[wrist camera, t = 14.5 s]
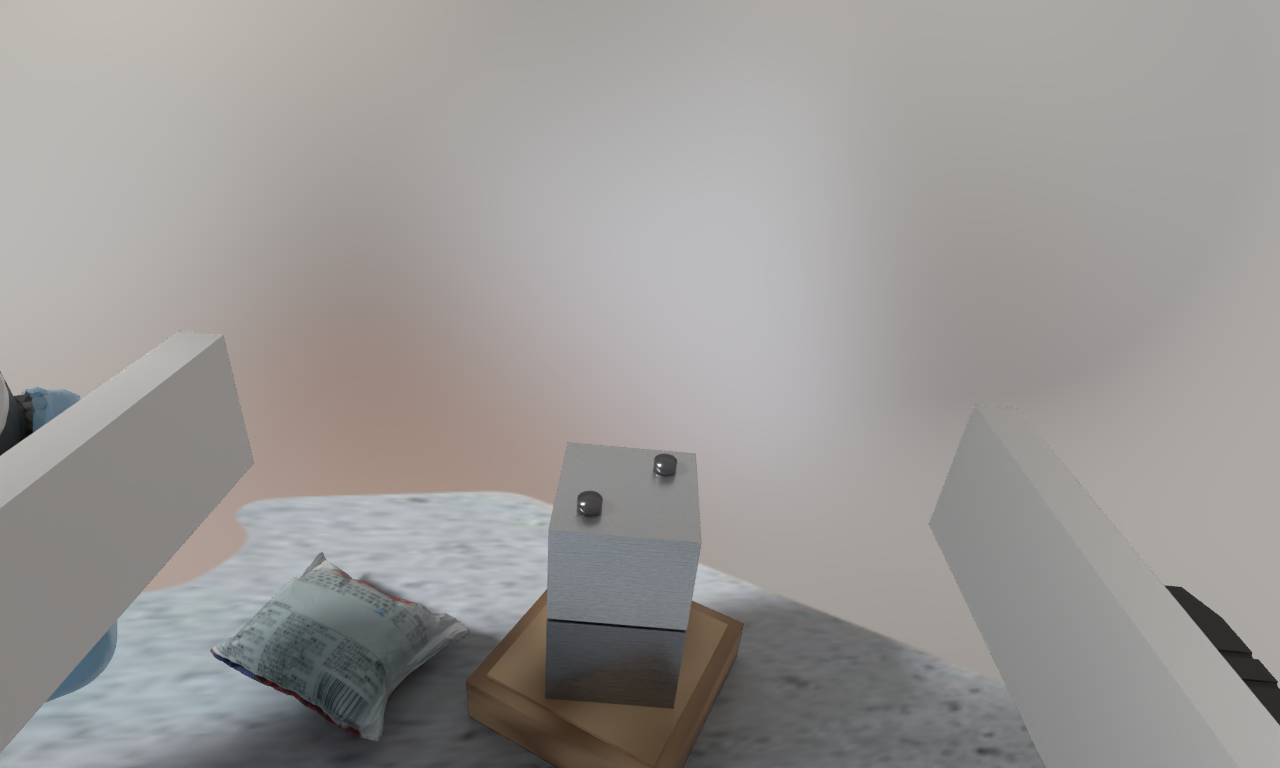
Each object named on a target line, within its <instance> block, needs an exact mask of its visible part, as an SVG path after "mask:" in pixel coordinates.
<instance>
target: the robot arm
mask: <svg viewBox="0 0 1280 768" xmlns="http://www.w3.org/2000/svg"><path fill="white" fill-rule="evenodd" d="M253 464H254V460H253V456H252V452H251V448H250V443H249V439H248V435H247V431H246V427H245V422H244V419H243V414H242V410H241V406H240V402H239V397H238V393H237V389H236V385H235V381H234V376H233V373H232V368H231V365H230V361H229V356H228V352H227V348H226V343H225V339H224V335H220V334H210V333H198V332H188V331H178V332H177V333H175V334H174V335H172V336H171V337H170V338H168V339H167V340H165V341H164V342H162V343H161V344H160V345H158V346H157V347H155V348H154V349H152V350H151V351H149V352H148V353H147V354H145V355H144V356H143V357H141V358H140V359H138V360H137V361H135V362H134V363H132V364H131V365H130V366H128V367H127V368H125V369H124V370H122V371H121V372H119V373H118V374H117V375H115V376H114V377H112V378H111V379H110V380H108V381H107V382H105V383H104V384H102V385H101V386H100V387H98V388H97V389H95V390H94V391H93V392H91V393H90V394H88V395H87V396H85V397H84V398H82V399H81V398H80V396H78V395H77V394H75V393H72V392H70V391H67V390H45V389H42V388H39V387H36V388H33V389H26V390H25V391H24V392H23V393H22V394H21V395H19V396H13V395H12V393H11V391H10V389H9V387H8V385H7V383H6V382H5V380H4V378H3V376H2V374H1V372H0V753H1V752H2V751H3V750H4V748H5V747H6V746H7V745H8V744H9V743H10V742H11V740H12V739H13V738H14V737H15V736H16V735H17V734H18V732H19V731H20V730H21V729H22V728H23V727H24V726H25V724H26V723H27V722H28V721H29V720H30V719H31V718H32V716H33V715H34V714H35V713H36V712H37V711H38V710H39V708H40V707H41V706H42V705H43V704H44V703H46V702H48V701H51V700H53V699H56V698H59V697H61V696H64V695H66V694H69V693H71V692H74V691H76V690H78V689H80V688H82V687H84V686H86V685H87V684H89V683H90V682H92V681H93V680H94V679H95V678H97V677H98V676H99V675H100V674H101V673H102V672H103V671H104V669H105V668H106V667H107V665H108V664H109V662H110V660H111V659H112V656H113V654H114V651H115V647H116V642H117V619H118V618H119V617H120V616H121V615H122V614H123V612H124V611H125V610H126V609H127V608H128V607H129V606H130V604H131V603H132V602H133V601H134V600H135V599H136V598H137V596H138V595H139V594H140V593H141V592H142V591H143V590H144V588H145V587H146V586H147V585H148V584H149V583H150V582H151V580H152V579H153V578H154V577H155V576H156V575H157V574H158V572H159V571H160V570H161V569H162V568H163V567H164V566H165V564H166V563H167V562H168V561H169V560H170V559H171V558H172V556H173V555H174V554H175V553H176V552H177V551H178V550H179V548H180V547H181V546H182V545H183V544H184V543H185V542H186V540H187V539H188V538H189V537H190V536H191V535H192V534H193V532H194V531H195V530H196V529H197V528H198V527H199V526H200V524H201V523H202V522H203V521H204V520H205V519H206V518H207V516H208V515H209V514H210V513H211V512H212V511H213V510H214V508H215V507H216V506H217V505H218V504H219V503H220V501H221V500H222V499H223V498H224V497H225V496H226V495H227V494H228V492H229V491H230V490H231V489H232V488H233V487H234V486H235V484H236V483H237V482H238V481H239V480H240V479H241V478H242V476H243V475H244V474H245V473H246V472H247V471H248V470H249V468H250V467H251V466H252V465H253ZM929 526H930V528H931V530H932V532H933V534H934V536H935V539H936V541H937V543H938V545H939V547H940V549H941V551H942V553H943V555H944V557H945V559H946V561H947V563H948V565H949V568H950V570H951V572H952V574H953V576H954V578H955V580H956V582H957V584H958V586H959V588H960V590H961V593H962V594H963V597H964V599H965V601H966V603H967V605H968V607H969V609H970V611H971V613H972V616H973V617H974V620H975V622H976V624H977V626H978V628H979V630H980V632H981V634H982V636H983V638H984V640H985V643H986V645H987V647H988V649H989V651H990V653H991V655H992V657H993V659H994V661H995V663H996V666H997V668H998V670H999V672H1000V674H1001V676H1002V678H1003V680H1004V682H1005V684H1006V686H1007V688H1008V691H1009V693H1010V695H1011V697H1012V699H1013V701H1014V703H1015V705H1016V707H1017V709H1018V711H1019V713H1020V716H1021V718H1022V720H1023V722H1024V724H1025V726H1026V728H1027V730H1028V732H1029V734H1030V736H1031V738H1032V741H1033V743H1034V745H1035V747H1036V749H1037V751H1038V753H1039V755H1040V757H1041V759H1042V761H1043V763H1044V766H1045V768H1280V689H1279V688H1278V686H1277V682H1278V681H1277V680H1276V679H1275V678H1274V677H1273V676H1272V675H1271V674H1270V672H1269V671H1268V670H1267V669H1266V668H1265V667H1264V665H1263V664H1262V663H1261V662H1260V661H1259V660H1258V659H1253V658H1252V652H1251V651H1250V649H1249V648H1248V647H1247V646H1246V645H1245V644H1244V643H1243V641H1242V640H1241V639H1240V638H1239V637H1238V636H1237V635H1236V633H1235V632H1234V631H1233V630H1232V629H1231V628H1230V626H1229V625H1228V624H1227V623H1226V622H1225V621H1224V620H1223V619H1222V618H1221V617H1220V616H1219V615H1218V614H1216V613H1215V612H1214V611H1212V610H1211V609H1210V608H1208V607H1207V606H1206V605H1204V604H1203V603H1202V602H1200V601H1199V600H1198V599H1196V598H1195V597H1194V596H1193V595H1191V594H1190V593H1189V592H1187V591H1186V590H1185V589H1183V588H1182V587H1175V586H1164V585H1163V584H1162V582H1161V581H1160V580H1159V579H1158V577H1157V576H1156V575H1155V574H1154V572H1153V571H1152V570H1151V569H1150V568H1149V567H1148V565H1147V564H1146V563H1145V562H1144V560H1143V559H1142V558H1141V557H1140V556H1139V554H1138V553H1137V552H1136V551H1135V549H1134V548H1133V547H1132V546H1131V545H1130V543H1129V542H1128V541H1127V540H1126V539H1125V537H1124V536H1123V535H1122V534H1121V532H1120V531H1119V530H1118V529H1117V528H1116V526H1115V525H1114V524H1113V523H1112V522H1111V520H1110V519H1109V518H1108V517H1107V516H1106V514H1105V513H1104V512H1103V511H1102V509H1101V508H1100V507H1099V506H1098V505H1097V504H1096V502H1095V501H1094V500H1093V499H1092V497H1091V496H1090V495H1089V494H1088V493H1087V491H1086V490H1085V489H1084V488H1083V487H1082V485H1081V484H1080V483H1079V482H1078V481H1077V479H1076V478H1075V477H1074V476H1073V474H1072V473H1071V472H1070V471H1069V470H1068V468H1067V467H1066V466H1065V465H1064V463H1063V462H1062V461H1061V460H1060V459H1059V457H1058V456H1057V455H1056V454H1055V453H1054V451H1053V450H1052V449H1051V448H1050V447H1049V445H1048V444H1047V443H1046V442H1045V440H1044V439H1043V438H1042V437H1041V435H1040V434H1039V433H1038V432H1037V431H1036V429H1035V428H1034V427H1033V426H1032V425H1031V423H1030V422H1029V421H1028V420H1027V419H1026V418H1025V416H1024V415H1023V414H1022V412H1021V411H1020V410H1019V409H1018V408H1012V407H1001V406H990V405H979V404H974V407H973V409H972V412H971V414H970V417H969V420H968V422H967V425H966V428H965V430H964V433H963V435H962V438H961V441H960V443H959V446H958V449H957V451H956V454H955V456H954V459H953V462H952V464H951V467H950V469H949V472H948V475H947V477H946V480H945V483H944V485H943V488H942V491H941V493H940V496H939V498H938V501H937V504H936V506H935V509H934V512H933V514H932V517H931V520H930V522H929Z"/></svg>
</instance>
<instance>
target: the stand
mask: <svg viewBox="0 0 1280 768" xmlns="http://www.w3.org/2000/svg"><path fill="white" fill-rule="evenodd" d="M546 626H547V590H546V591H545V592H544V593H543V594H542V596H541V597H540V598H539V599H538V600H537V601H536V602H535V604H534V605H533V606H532V607H531V608H530V609H529V610H528V612H527V613H526V614H525V615H524V616H523V617H522V618H521V620H520V621H519V622H518V623H517V624H516V625H515V626H514V628H513V629H512V630H511V631H510V632H509V633H508V634H507V636H506V637H505V638H504V639H503V640H502V641H501V642H500V644H499V645H498V646H497V647H496V648H495V649H494V650H493V652H492V653H491V654H490V655H489V656H488V657H487V658H486V660H485V661H484V662H483V663H482V664H481V665H480V666H479V668H478V669H477V670H476V671H475V672H474V673H473V674H472V676H471V677H470V678H469V679H468V680H467V681H466V685H467V701H468V716H470V717H472V718H473V719H475V720H477V721H479V722H480V723H482V724H484V725H485V726H487V727H489V728H491V729H492V730H494V731H496V732H497V733H499V734H501V735H503V736H504V737H506V738H508V739H509V740H511V741H513V742H515V743H516V744H518V745H520V746H521V747H523V748H525V749H527V750H528V751H530V752H532V753H533V754H535V755H537V756H539V757H540V758H542V759H544V760H545V761H547V762H549V763H551V764H552V765H554V766H556V767H557V768H683V766H684V764H685V762H686V760H687V758H688V756H689V754H690V752H691V750H692V747H693V745H694V743H695V741H696V739H697V737H698V735H699V733H700V731H701V729H702V727H703V725H704V723H705V721H706V718H707V716H708V714H709V712H710V710H711V708H712V706H713V704H714V702H715V700H716V698H717V696H718V694H719V692H720V689H721V687H722V685H723V683H724V681H725V679H726V677H727V675H728V673H729V671H730V669H731V667H732V665H733V663H734V660H735V658H736V656H737V652H738V648H739V643H740V639H741V635H742V630H743V626H744V624H743V623H741V622H739V621H737V620H734V619H732V618H730V617H728V616H725V615H723V614H721V613H718V612H716V611H714V610H712V609H709V608H707V607H705V606H703V605H700V604H698V603H696V602H694V601H692V602H691V608H690V614H689V620H688V626H687V630H686V638H685V644H684V650H683V656H682V662H681V668H680V674H679V680H678V686H677V692H676V698H675V703H674V709H669V708H657V707H645V706H633V705H621V704H609V703H597V702H584V701H572V700H560V699H548V698H545V671H546Z"/></svg>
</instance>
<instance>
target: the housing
mask: <svg viewBox="0 0 1280 768" xmlns="http://www.w3.org/2000/svg"><path fill="white" fill-rule="evenodd" d="M700 548H701V527H700V511H699V497H698V480H697V464H696V454H695V453H683V452H672V451H661V450H648V449H637V448H626V447H614V446H603V445H592V444H579V443H567V448H566V452H565V457H564V461H563V466H562V470H561V475H560V480H559V484H558V489H557V493H556V498H555V503H554V507H553V512H552V516H551V521H550V526H549V536H548V581H547V626H546V671H545V698H548V699H560V700H572V701H584V702H597V703H609V704H621V705H633V706H645V707H657V708H669V709H674V703H675V698H676V692H677V686H678V680H679V674H680V668H681V662H682V656H683V650H684V644H685V638H686V630H687V626H688V620H689V614H690V608H691V602H692V596H693V590H694V584H695V578H696V572H697V566H698V560H699V554H700Z"/></svg>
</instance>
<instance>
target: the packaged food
mask: <svg viewBox="0 0 1280 768" xmlns="http://www.w3.org/2000/svg"><path fill="white" fill-rule="evenodd" d="M468 634H469V630H468V629H467V627H466V626H464V625H463V624H462V623H461V622H460V621H458V620H456V618H454V617H452V616H449V615H448V614H446V613H441V614H432V613H431V612H430V611H429V610H428V609H427V608H426V607H424V606H423V605H421V604H418V603H414V602H410V601H407V600H404V599H401V598H397V597H393V596H390V595H386V594H383V593H382V592H381V591H379V590H378V589H376V588H375V587H373V586H371V585H369V584H367V583H366V582H364V581H359V580H355V579H352V578H351V577H350V576H349V575H348V574H347V573H345V572H344V571H342V570H341V569H339V568H338V567H336V566H335V565H333V564H332V563H330V562H328V561H327V560H326V558H325V557H324V554H323V552H322V553H320V554H319V555H318V556H317V557H316V558H315V560H314V561H313V563H312V564H311V565H310V566H309V567H308V568H307V569H306V571H305V572H304V574H303V575H302V576H301V577H299V578H298V577H297V578H295V577H294V578H293V579H292V580H291V581H290V582H289V583H288V584H286V585H285V586H284V587H283V588H282V589H281V590H280V591H279V592H278V593H277V594H276V595H275V596H274V597H273V598H272V599H271V600H270V601H269V602H268V603H267V604H266V605H265V606H264V607H263V608H262V609H261V610H260V611H259V612H258V613H257V614H256V615H255V616H254V617H253V618H252V619H251V620H250V621H249V622H248V623H247V624H246V625H245V626H244V627H243V628H242V630H241V631H240V632H239V633H238V634H237V635H235V636H234V637H232V638H230V639H229V640H227V641H226V642H224V643H222V644H220V645H218V646H215V647H213V648H212V649H211V650H210V651H211V652H212V653H213V655H214V657H215V658H217V659H218V660H220V661H223V662H224V663H226V664H227V665H229V666H230V667H232V668H234V669H235V670H238V671H240V672H241V673H242V674H244V675H246V676H248V677H250V678H252V679H254V680H256V681H258V682H260V683H262V684H264V685H267V686H271V687H273V688H274V689H275V690H278V691H281V692H283V693H285V694H287V695H292V696H294V697H295V698H297V699H298V700H299V701H300V702H301V703H302V704H304V705H305V706H306V707H309V708H311V709H312V710H313V711H315V712H317V713H319V714H320V715H322V716H323V717H324V718H325V719H326V720H327V721H328V722H331V723H332V724H336V725H338V726H339V727H340V728H341V729H342V730H345V731H346V732H347V733H349V734H351V735H353V736H356V737H361V738H366V739H370V740H374V741H379V738H380V737H381V735H382V733H383V719H384V712H385V708H386V703H387V701H388V699H389V697H390V695H391V693H392V692H393V690H394V689H395V688H396V687H397V686H398V685H399V684H400V683H401V682H402V681H403V680H404V679H405V678H406V677H407V676H408V675H409V674H410V673H412V672H413V671H414V670H415V669H416V668H418V667H419V666H421V665H422V664H424V663H425V662H426V661H427V660H429V659H430V658H431V657H433V656H434V655H435V654H437V653H438V652H439V651H441V650H442V649H443V648H445V647H446V646H447V645H448V644H450V643H452V642H458V640H459V639H460V638H464V637H465V635H468Z"/></svg>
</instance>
